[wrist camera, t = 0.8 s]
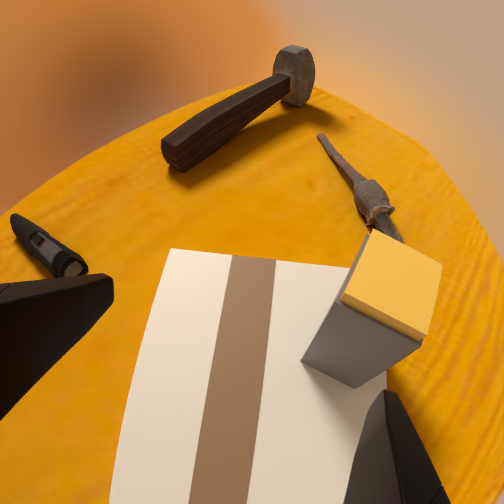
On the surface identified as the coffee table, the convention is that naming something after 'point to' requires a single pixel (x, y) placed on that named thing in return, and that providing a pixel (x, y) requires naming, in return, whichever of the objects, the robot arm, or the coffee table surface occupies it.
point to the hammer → (240, 109)
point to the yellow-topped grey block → (376, 312)
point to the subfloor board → (238, 389)
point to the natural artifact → (366, 194)
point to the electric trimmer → (47, 249)
